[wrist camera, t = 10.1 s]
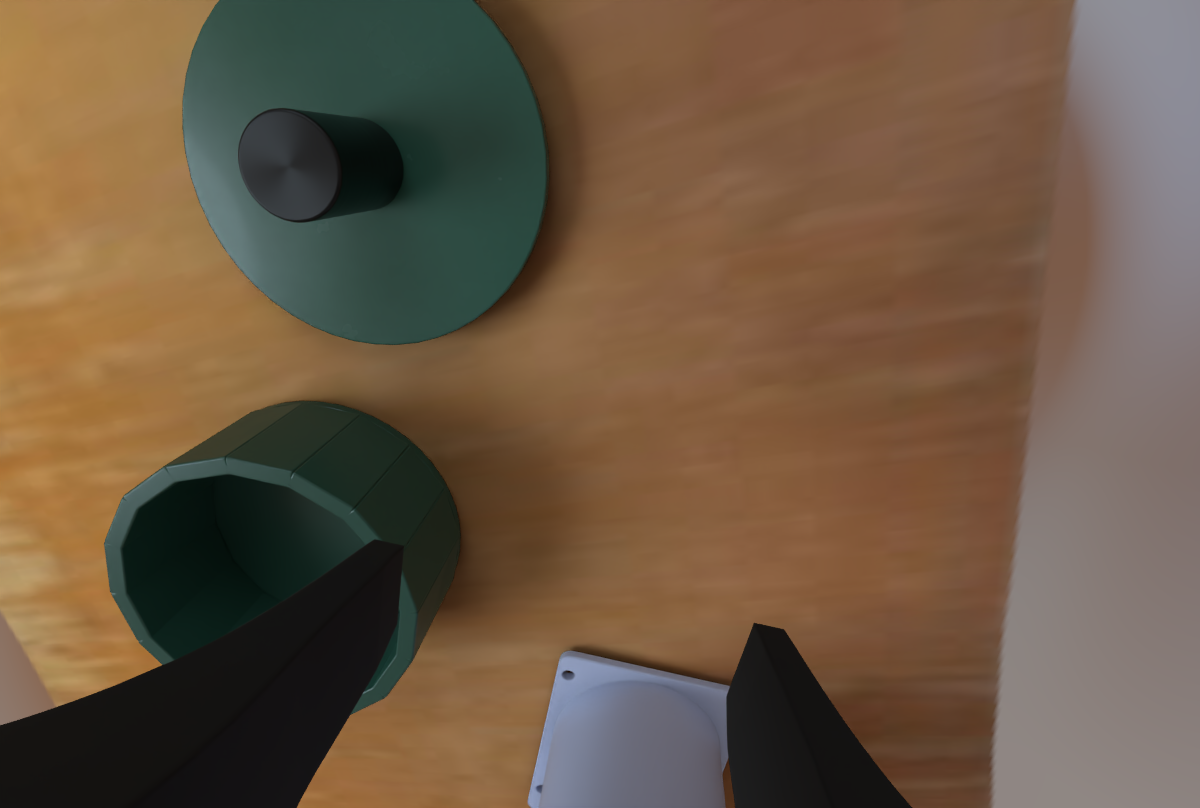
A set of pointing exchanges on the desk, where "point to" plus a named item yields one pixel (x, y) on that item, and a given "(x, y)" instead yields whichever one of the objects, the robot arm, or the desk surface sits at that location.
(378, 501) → the pot
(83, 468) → the desk surface
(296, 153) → the lid
